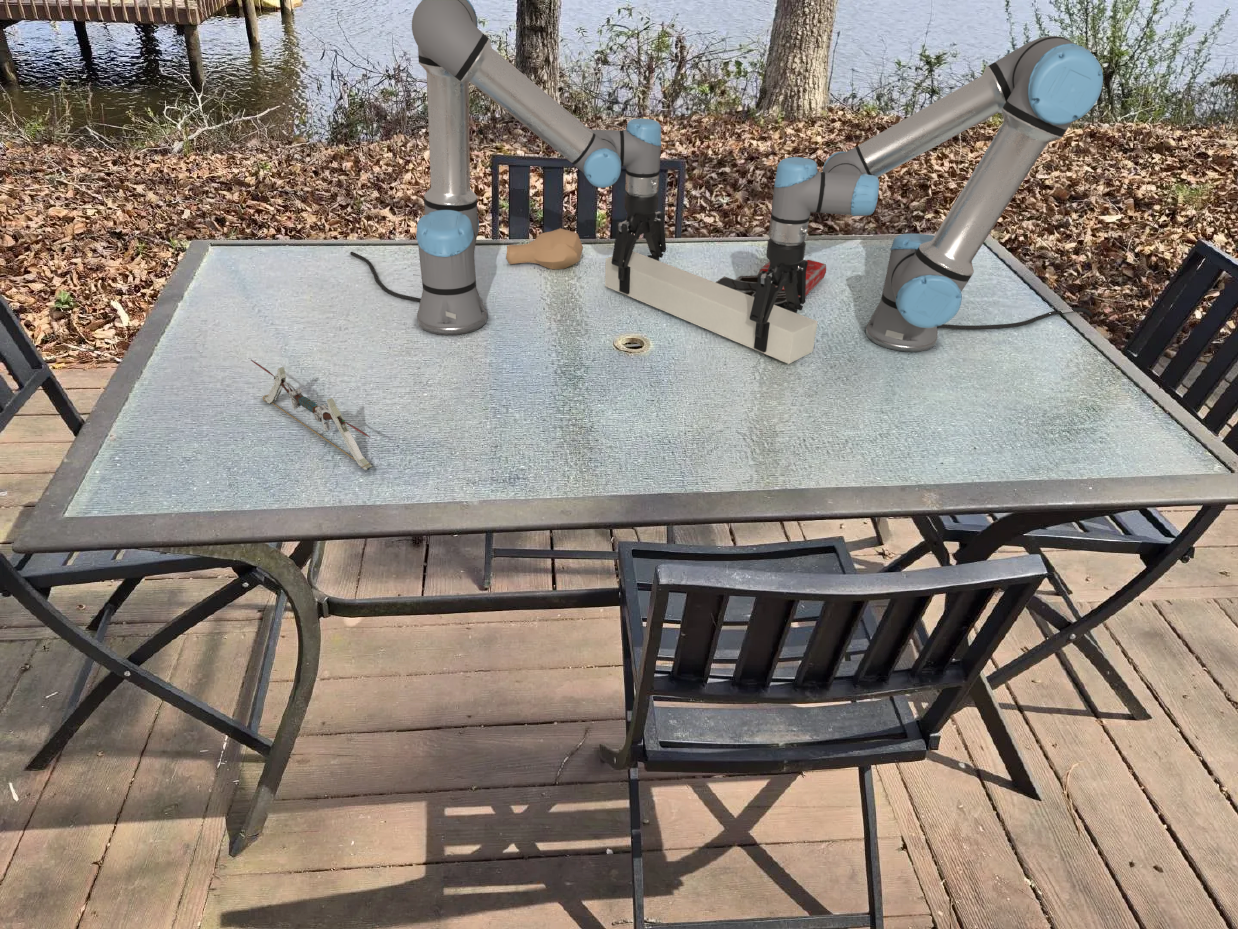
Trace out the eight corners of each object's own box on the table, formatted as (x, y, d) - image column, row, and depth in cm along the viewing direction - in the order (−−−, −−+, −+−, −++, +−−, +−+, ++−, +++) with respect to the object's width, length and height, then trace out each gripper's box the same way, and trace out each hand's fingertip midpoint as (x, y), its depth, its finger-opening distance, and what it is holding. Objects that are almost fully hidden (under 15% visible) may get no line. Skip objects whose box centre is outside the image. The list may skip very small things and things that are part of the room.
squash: (584, 273, 223) (579, 241, 217) (507, 280, 225) (500, 249, 219) (585, 251, 231) (581, 220, 225) (511, 258, 233) (504, 227, 227)
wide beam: (604, 286, 212) (605, 258, 208) (629, 277, 217) (630, 250, 214) (788, 364, 180) (793, 332, 176) (813, 351, 185) (817, 321, 181)
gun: (708, 284, 207) (784, 305, 199) (760, 245, 229) (831, 262, 221) (706, 302, 209) (781, 323, 201) (758, 261, 231) (828, 278, 223)
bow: (382, 473, 146) (374, 421, 141) (372, 477, 145) (364, 425, 140) (264, 393, 168) (253, 345, 162) (255, 396, 167) (243, 348, 161)
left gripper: (619, 205, 189) (617, 303, 202) (685, 187, 202) (679, 280, 214) (595, 197, 194) (594, 293, 206) (662, 180, 206) (657, 271, 219)
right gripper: (769, 257, 166) (756, 364, 178) (833, 232, 178) (817, 334, 191) (738, 246, 170) (727, 352, 183) (803, 223, 183) (789, 323, 195)
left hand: (638, 287), depth 210 cm, fingers closed on wide beam, 9 cm apart
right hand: (773, 343), depth 187 cm, fingers closed on wide beam, 9 cm apart
